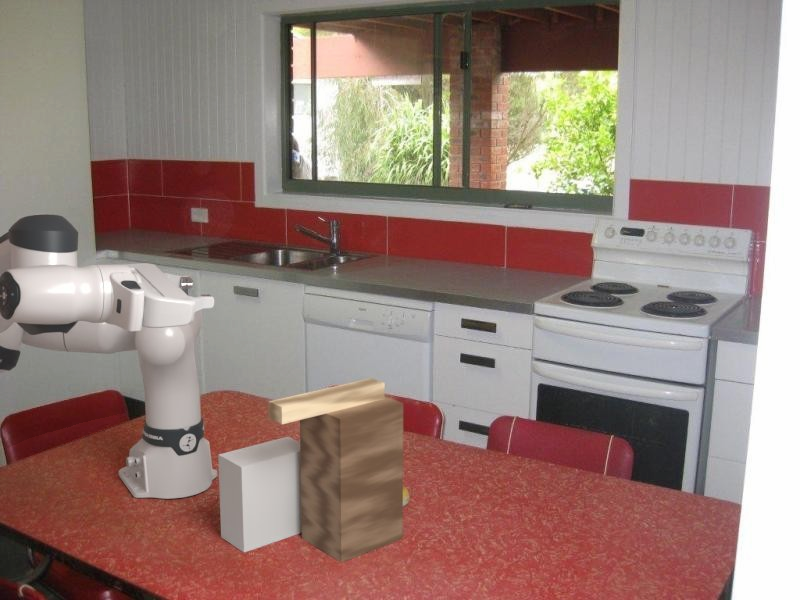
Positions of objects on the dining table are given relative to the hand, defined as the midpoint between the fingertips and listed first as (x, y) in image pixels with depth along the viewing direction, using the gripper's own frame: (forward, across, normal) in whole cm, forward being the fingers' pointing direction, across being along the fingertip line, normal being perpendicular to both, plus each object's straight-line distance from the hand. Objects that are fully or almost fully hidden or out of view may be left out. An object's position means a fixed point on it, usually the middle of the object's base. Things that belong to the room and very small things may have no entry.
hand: (201, 291), depth 148 cm
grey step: (+18, 0, -48) cm, 51 cm away
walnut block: (+30, +11, -45) cm, 55 cm away
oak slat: (+23, +7, -20) cm, 31 cm away
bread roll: (+44, 0, -46) cm, 64 cm away
